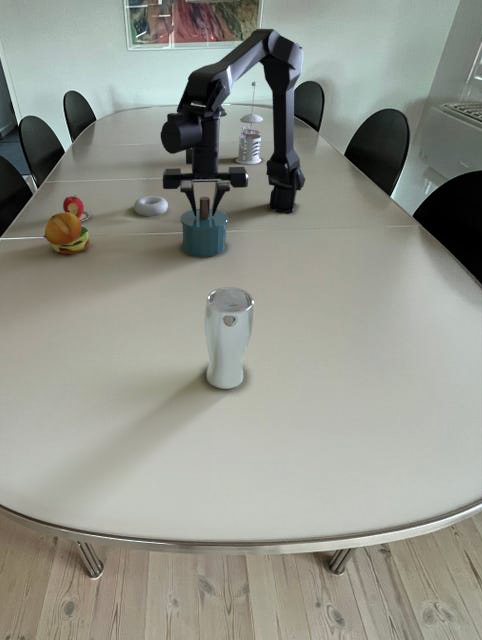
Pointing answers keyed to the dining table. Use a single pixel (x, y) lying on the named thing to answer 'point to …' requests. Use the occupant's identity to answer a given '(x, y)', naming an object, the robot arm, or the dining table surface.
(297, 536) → the dining table surface
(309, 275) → the dining table surface
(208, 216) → the lid
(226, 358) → the beer glass
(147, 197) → the donut
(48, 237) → the cheeseburger
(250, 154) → the french press
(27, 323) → the dining table surface
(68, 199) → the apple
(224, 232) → the canister
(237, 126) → the dining table surface
